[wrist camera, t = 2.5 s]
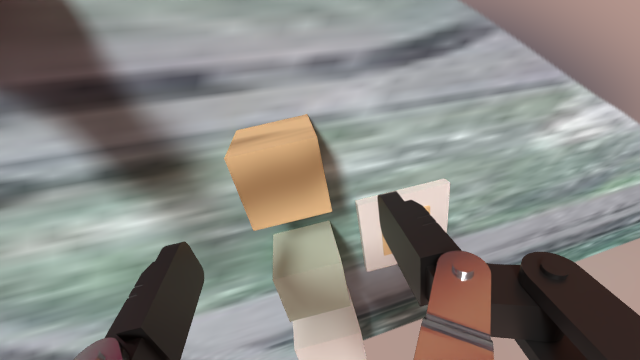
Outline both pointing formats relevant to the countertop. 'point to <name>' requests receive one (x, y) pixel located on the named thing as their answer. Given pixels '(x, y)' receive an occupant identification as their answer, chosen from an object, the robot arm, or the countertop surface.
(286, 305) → the sage block
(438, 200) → the tile
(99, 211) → the countertop surface
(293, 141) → the maple block
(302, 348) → the base block
